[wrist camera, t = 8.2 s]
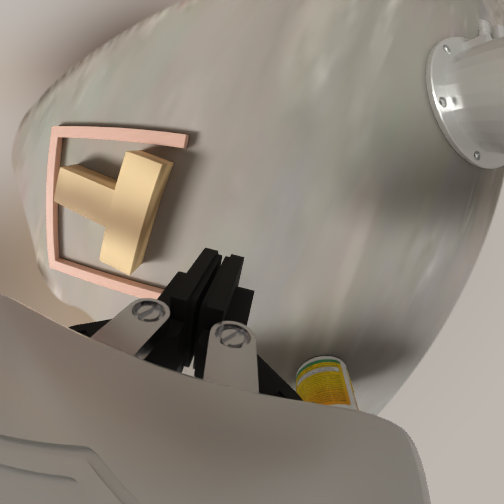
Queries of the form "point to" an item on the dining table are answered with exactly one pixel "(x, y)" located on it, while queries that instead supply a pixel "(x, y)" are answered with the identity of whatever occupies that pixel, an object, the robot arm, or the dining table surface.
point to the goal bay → (52, 206)
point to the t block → (118, 204)
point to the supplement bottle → (326, 383)
